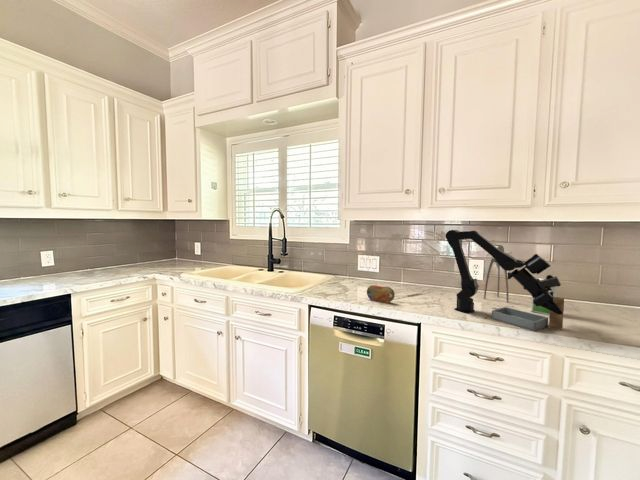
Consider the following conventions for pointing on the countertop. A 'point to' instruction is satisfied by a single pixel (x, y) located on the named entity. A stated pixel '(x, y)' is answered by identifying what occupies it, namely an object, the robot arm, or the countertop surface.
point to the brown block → (557, 315)
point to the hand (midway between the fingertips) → (561, 312)
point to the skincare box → (539, 308)
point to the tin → (380, 293)
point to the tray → (520, 318)
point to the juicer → (498, 274)
